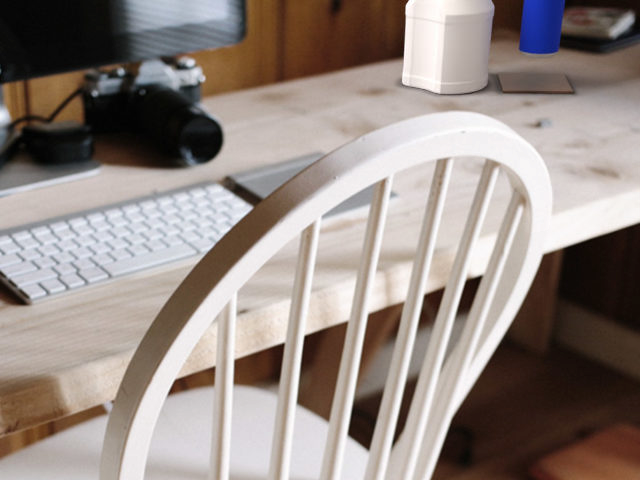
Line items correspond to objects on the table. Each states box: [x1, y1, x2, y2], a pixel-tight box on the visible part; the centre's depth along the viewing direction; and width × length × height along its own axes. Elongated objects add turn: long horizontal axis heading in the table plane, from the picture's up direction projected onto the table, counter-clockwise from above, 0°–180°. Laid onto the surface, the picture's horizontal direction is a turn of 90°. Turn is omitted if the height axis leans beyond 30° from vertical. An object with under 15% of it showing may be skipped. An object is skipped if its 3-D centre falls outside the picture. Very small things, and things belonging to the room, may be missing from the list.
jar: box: [401, 0, 495, 95], centre depth 136 cm, size 12×10×15 cm
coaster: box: [496, 72, 574, 94], centre depth 139 cm, size 9×9×1 cm
